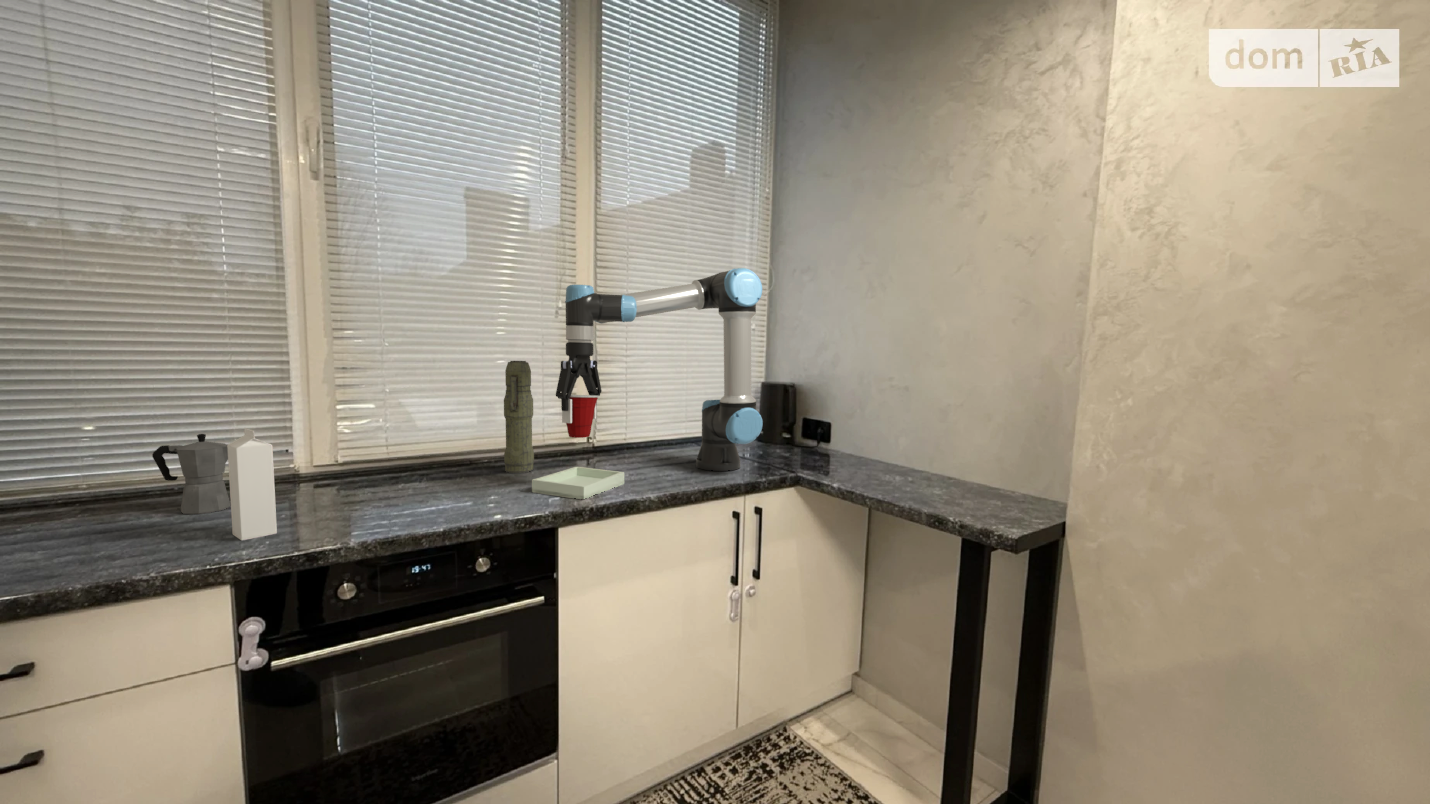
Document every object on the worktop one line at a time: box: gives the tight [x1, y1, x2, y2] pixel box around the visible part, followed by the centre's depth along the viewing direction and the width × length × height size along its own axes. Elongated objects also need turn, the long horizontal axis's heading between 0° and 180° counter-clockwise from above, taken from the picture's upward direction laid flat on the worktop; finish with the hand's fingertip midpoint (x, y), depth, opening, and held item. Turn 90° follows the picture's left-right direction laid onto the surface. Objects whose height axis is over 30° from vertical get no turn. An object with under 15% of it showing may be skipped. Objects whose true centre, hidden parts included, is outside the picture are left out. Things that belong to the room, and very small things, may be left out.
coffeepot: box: [151, 433, 231, 516], centre depth 135 cm, size 15×9×18 cm, turn 116°
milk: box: [227, 427, 278, 542], centre depth 119 cm, size 6×6×22 cm
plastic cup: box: [565, 394, 600, 439], centre depth 162 cm, size 11×11×12 cm
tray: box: [531, 466, 625, 500], centre depth 164 cm, size 17×20×4 cm
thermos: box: [503, 360, 535, 474], centre depth 184 cm, size 9×12×35 cm
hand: (579, 420), depth 163 cm, fingers closed on plastic cup, 11 cm apart
